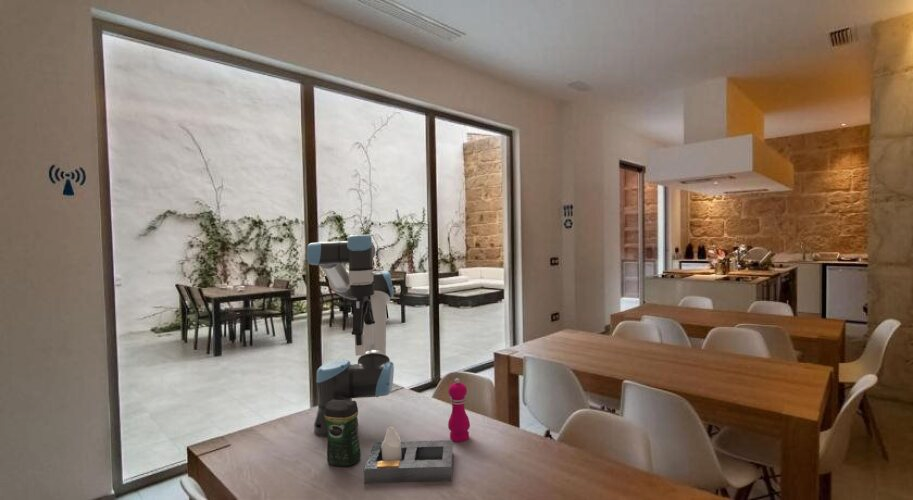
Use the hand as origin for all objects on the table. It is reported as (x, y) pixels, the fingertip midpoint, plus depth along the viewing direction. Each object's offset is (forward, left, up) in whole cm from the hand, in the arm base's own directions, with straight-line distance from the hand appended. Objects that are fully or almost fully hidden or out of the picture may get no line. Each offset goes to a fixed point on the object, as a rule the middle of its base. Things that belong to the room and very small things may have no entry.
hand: (365, 349), depth 149 cm
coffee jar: (+9, -6, -32) cm, 34 cm away
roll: (+14, +10, -32) cm, 36 cm away
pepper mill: (-4, +29, -32) cm, 43 cm away
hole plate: (+14, +15, -32) cm, 38 cm away
